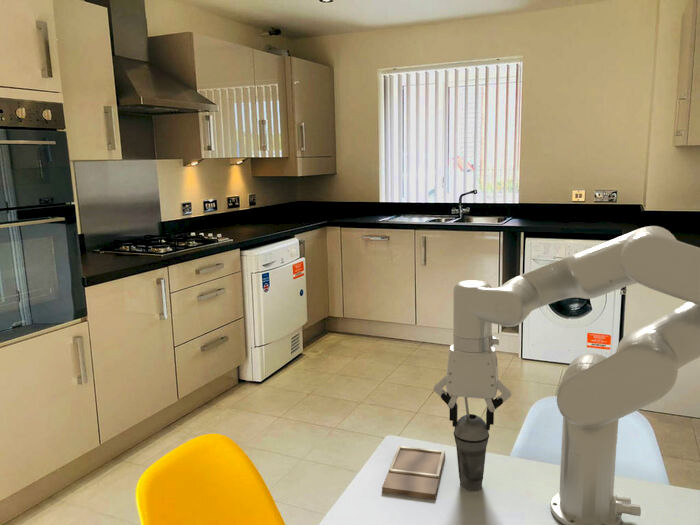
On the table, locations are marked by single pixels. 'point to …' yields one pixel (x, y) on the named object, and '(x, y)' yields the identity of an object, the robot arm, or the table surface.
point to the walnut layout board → (415, 472)
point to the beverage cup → (471, 449)
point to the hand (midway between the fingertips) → (471, 424)
